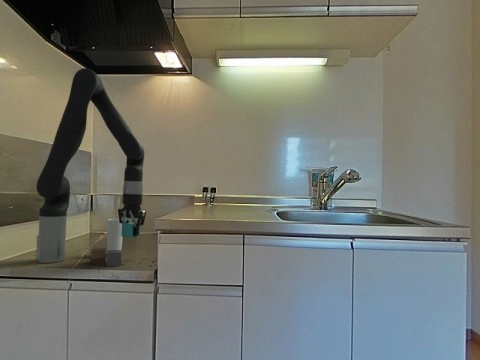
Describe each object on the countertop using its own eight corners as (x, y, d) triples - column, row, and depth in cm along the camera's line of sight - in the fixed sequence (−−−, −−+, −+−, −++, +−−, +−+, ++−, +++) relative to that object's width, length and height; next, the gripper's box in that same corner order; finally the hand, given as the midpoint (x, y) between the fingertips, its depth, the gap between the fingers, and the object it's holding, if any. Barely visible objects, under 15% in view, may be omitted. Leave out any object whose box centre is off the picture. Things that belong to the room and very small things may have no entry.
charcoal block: (120, 266, 124) (121, 252, 124) (106, 266, 123) (106, 253, 123) (120, 262, 129) (121, 249, 129) (106, 263, 127) (107, 250, 127)
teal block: (130, 237, 130) (130, 225, 130) (121, 236, 133) (121, 223, 133) (139, 236, 134) (140, 224, 135) (131, 235, 137) (131, 222, 137)
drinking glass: (104, 256, 138) (105, 220, 138) (107, 253, 145) (108, 218, 145) (122, 256, 140) (123, 220, 140) (123, 253, 146) (124, 218, 146)
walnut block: (105, 263, 127) (105, 250, 127) (91, 264, 126) (91, 250, 126) (105, 260, 132) (106, 247, 132) (91, 261, 130) (92, 248, 130)
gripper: (112, 191, 134) (110, 234, 134) (138, 193, 127) (136, 238, 127) (127, 191, 141) (125, 232, 140) (152, 193, 133) (150, 236, 133)
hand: (130, 235), depth 134 cm, fingers closed on teal block, 5 cm apart
